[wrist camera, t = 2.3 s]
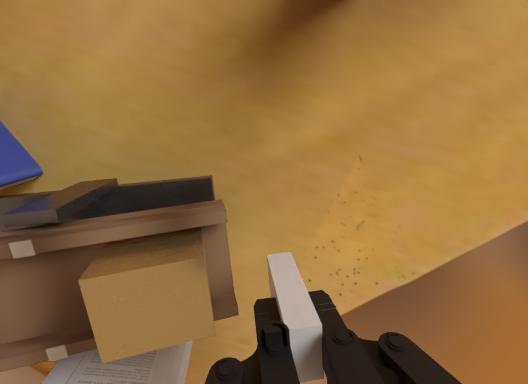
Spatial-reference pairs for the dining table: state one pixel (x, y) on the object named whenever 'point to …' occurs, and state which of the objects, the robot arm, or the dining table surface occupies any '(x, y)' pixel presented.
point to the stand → (100, 200)
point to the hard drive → (15, 161)
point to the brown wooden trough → (74, 265)
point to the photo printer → (124, 368)
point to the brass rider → (148, 294)
